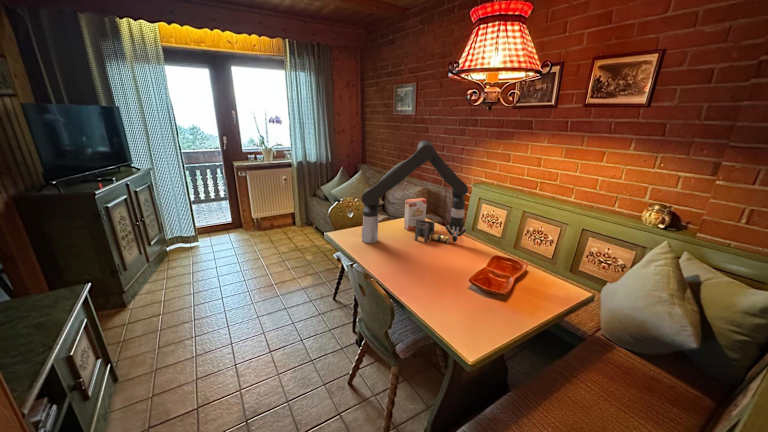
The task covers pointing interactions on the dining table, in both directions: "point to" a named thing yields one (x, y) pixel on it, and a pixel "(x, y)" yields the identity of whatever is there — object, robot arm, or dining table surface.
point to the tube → (439, 237)
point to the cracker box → (414, 212)
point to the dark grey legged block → (424, 229)
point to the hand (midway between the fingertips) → (454, 241)
